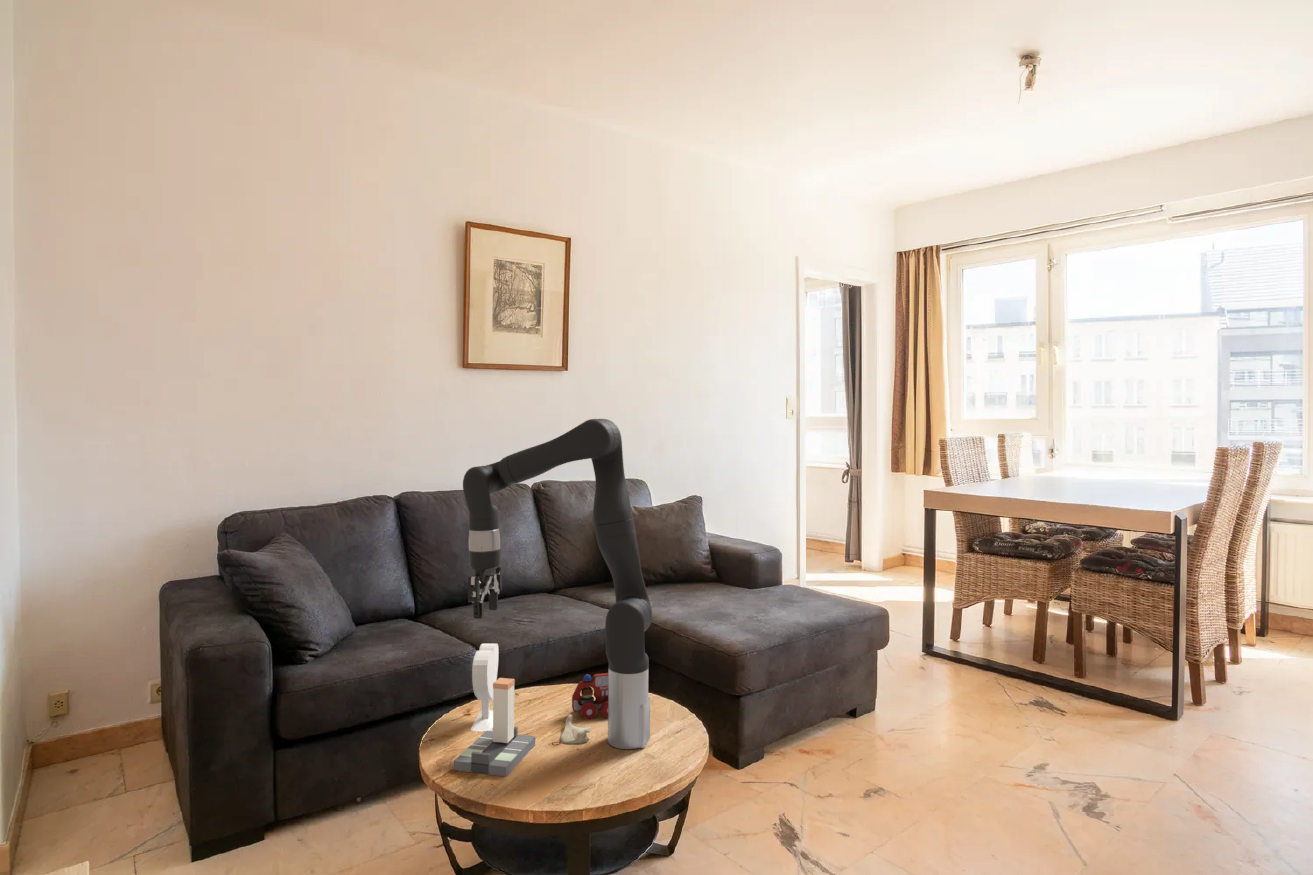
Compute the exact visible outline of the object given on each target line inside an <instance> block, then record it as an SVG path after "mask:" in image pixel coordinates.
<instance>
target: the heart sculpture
mask: <svg viewBox="0 0 1313 875" xmlns="http://www.w3.org/2000/svg"><path fill="white" fill-rule="evenodd" d="M499 654H500V653H499V644H498V643H481V644H480V646H479V650H476V652H475V654H474V657H473V660H472V668H471V669H472V672H471V674H472V676H471V679H472V680H471V681H472V690H473V693H474V696H475V697H476V698H477V700H478V701H481V711H479V713H478V714H477V717H476V718H475V720H474V722H473V724H472V726H471V728H470V731H473V732H478V731H479V732H478V733H484V732H483V731H485V732H486V731H493V709H490V708H491V705H490V704H491V701H493V683H494V682H495V681H496V680H498V670H499Z"/></svg>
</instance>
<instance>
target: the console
mask: <svg viewBox="0 0 1313 875" xmlns="http://www.w3.org/2000/svg"><path fill="white" fill-rule="evenodd" d="M518 728H519V727H518V726H514V737H513V738H512V739H511V740H510V741H509V742H508V743H501V742H493V730H490V731H485V732H483V733H482V734H481V735H480V736H479V737H478V738H477V739H475V741H473V743H471V744H470V745H469V746H468V747H466V749H465V750H464V751H463V752H461V753H460V754H459V755H458V756H457V757H456V758H455V759H453V766H452V767H453V769H454V770H453V771H457V770H458V772H465V771H466V773H467V772H468V773H475V774H481V773H485V774H484V775H489V774H491V775H490V776H499V777H507V776H508V775H510V773H512V771H513V770H514V769H515V768H516V767H517V765H518V764H519V763H520V762H521V761H522V760H524V758H525V757H526V756H527V755H528V753H530V752H531V751H532V749H533V748H534V747H535V746H536V735H528V734H519V733H518Z"/></svg>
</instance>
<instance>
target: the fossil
mask: <svg viewBox="0 0 1313 875" xmlns="http://www.w3.org/2000/svg"><path fill="white" fill-rule="evenodd" d="M573 717H574V716H573V715H572V714H569V715H568V716H567V717H566V719H565V724H564V729H563V732H562V733H561V735H560V742H561V743H562V744H567V745H575V744H583V743H587V742H589V741H590V737H589V736H588V734H590V733H591V732H592V727H591V726H586V727H579V726H575V725H573V721H574V718H573ZM587 733H588V734H587Z"/></svg>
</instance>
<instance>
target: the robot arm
mask: <svg viewBox="0 0 1313 875" xmlns="http://www.w3.org/2000/svg"><path fill="white" fill-rule="evenodd" d="M623 452H624V451H623V440H622V435H621V432H620V429H619V427H618V426H617V425H616V423H614V422H613V421H612V420H609V419H606V418H591V419H586V420H585V421H583V422H582V423H580V424H579V425H577V426H575V427H573V428H571V430H569V431H567V432H565V433H563V434H561V435H559V436H558V437H556V438H553V439H551V440H549V441H545V442H543V443H541V444H538V445H535V446H531V447H528V448H525V449H522V450H520V451H517V452H514V453H512V454H509V455H507V456H505V457H503V458H501V460H498V461H496V462H493V463H490V464H486V465H481V466H478V465H477V466H472V467H470V468H469V469H468V470H466V472H465V474H464V476H463V479H462V490H463V494H464V498H465V499H464V500H465V502H466V507H467V510H468V513H469V515H468V517H469V518H468V519H469V520H468V522H469V526H468V528H469V531H468V532H469V534H468V562H469V563H468V565H469V568H470V569H473V570H474V576H473V575H472V576H471V575H469V576H468V578H467V601H468V603H472V604H473V605H472V606H473V618H474V619H478V620H479V619H480V620H481V619H483V618H484V599H485V596H486V595H487V594H488V596H487V597H488V610H490V611H497V610H498V609H499V595H500V591H502V589H503V576H502V575H503V574H502V567H501V564H502V563H501V562H502V561H501V558H502V556H501V554H502V553H501V534H500V523H499V522H500V521H499V519H500V518H499V510H498V507H497V506H496V505H494V504H492V500H491V495H490V494H494V493H497V492H500V491H501V490H504V489H506V488H508V487H511V486H512V485H516V484H519V483H522V482H525V481H528V480H531V479H533V478H535V477H538V476H540V475H542V474H545V473H546V472H549V471H551V470H552V469H555V468H556V467H559V466H562V465H564V464H567V463H571V462H577V461H582V460H588V459H591V462H592V467H593V471H594V480H595V490H594V499H593V509H592V512H593V513H592V517H593V518H592V520H593V525H594V526H593V527H594V532H595V538H596V543H597V545H598V548H599V551H600V553H601V555H602V557H603V559H604V562H605V563H606V565H607V568H608V569H609V571H610V574H611V577H612V581H613V588H614V594H615V595H614V596H615V603H614V604H613V605H611V606H610V607H609V609H608V611H607V613H606V617H605V627H604V629H605V631H604V632H605V634H604V635H605V655H606V658H607V662H608V673H609V681H608V718H607V742H608V745H610V746H612V747H614V748H616V749H621V750H634V749H635V750H636V749H644V748H646V745H647V744H648V742H649V740H650V739H651V698H650V697H649V665H650V664H649V662H650V661H649V660H650V659H649V656H648V654H647V653H646V649H645V645H646V644H645V632H646V631H647V630H648V629H649V628H650V626H651V624H652V620H653V610H652V605H651V602H650V598H649V594H648V591H647V588H646V585H645V580H644V577H643V573H642V565H641V558H640V551H639V544H638V540H637V539H638V538H637V533H636V532H637V531H636V526H635V521H634V516H633V510H632V507H631V501H630V495H629V491H628V485H627V481H626V474H625V467H624V455H623V454H624V453H623Z"/></svg>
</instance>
